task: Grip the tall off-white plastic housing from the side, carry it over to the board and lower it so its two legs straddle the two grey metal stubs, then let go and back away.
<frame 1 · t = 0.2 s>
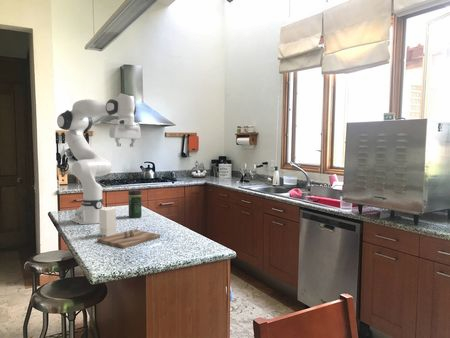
hand: (125, 146, 208), 47 cm above the countertop, tool pointing down, fingers open, 8 cm apart
housing: (107, 234, 198), on the countertop
stub board: (129, 239, 189), on the countertop
coffee jar: (135, 217, 244), on the countertop
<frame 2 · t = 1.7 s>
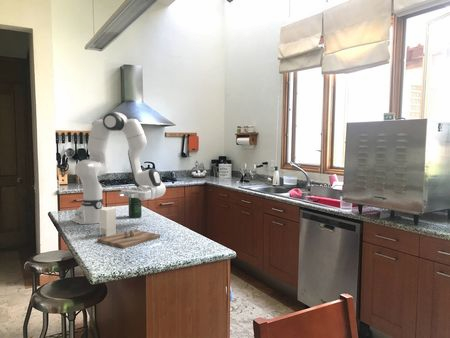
hand: (125, 195, 207), 20 cm above the countertop, tool horizontal, fingers open, 8 cm apart
nothing on the countertop moved.
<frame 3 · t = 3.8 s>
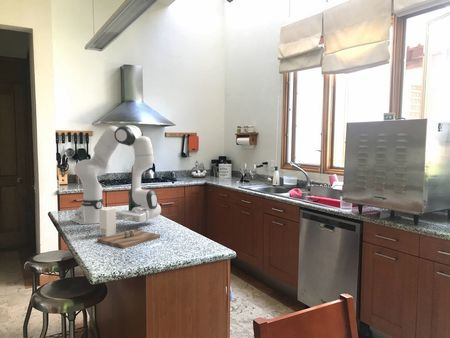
hand: (119, 218, 204), 7 cm above the countertop, tool horizontal, fingers open, 8 cm apart
nothing on the countertop moved.
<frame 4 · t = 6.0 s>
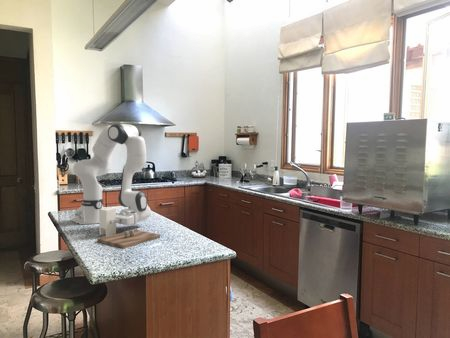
hand: (106, 221, 197), 8 cm above the countertop, tool horizontal, fingers closed on housing, 6 cm apart
housing: (107, 234, 198), on the countertop, touching gripper
everything else where it was.
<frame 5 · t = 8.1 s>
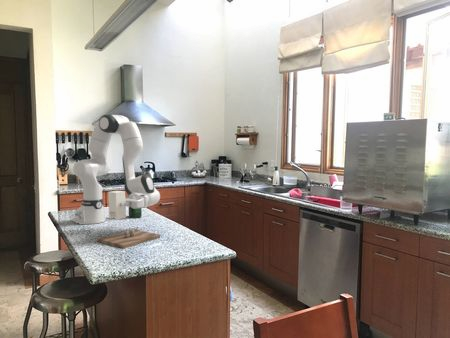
hand: (115, 204, 192), 17 cm above the countertop, tool horizontal, fingers closed on housing, 6 cm apart
housing: (117, 218, 193), point 10 cm above the countertop, touching gripper
everything else where it was.
when the fingers open (10 cm above the countertop, at t = 10.8 s): housing drops 1 cm, resting on stub board.
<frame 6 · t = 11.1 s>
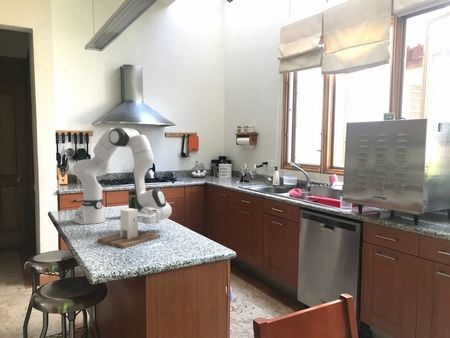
hand: (127, 219, 187), 10 cm above the countertop, tool horizontal, fingers open, 8 cm apart
housing: (129, 236, 189), point 2 cm above the countertop, touching stub board
everything else where it was.
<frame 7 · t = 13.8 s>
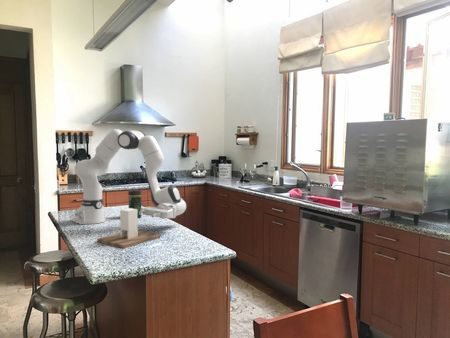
hand: (146, 214, 198), 11 cm above the countertop, tool horizontal, fingers open, 8 cm apart
nothing on the countertop moved.
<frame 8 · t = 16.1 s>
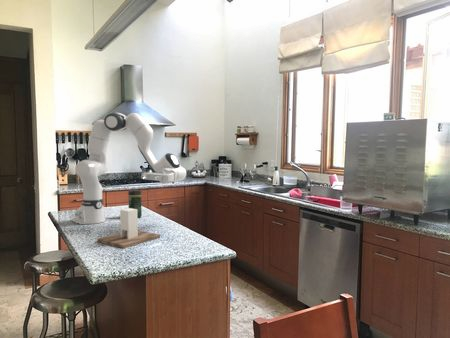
hand: (147, 177, 204), 30 cm above the countertop, tool horizontal, fingers open, 8 cm apart
nothing on the countertop moved.
at the end: housing 0.1 cm off-centre on the stub board, point 1.5 cm above the stub board's base; housing tilted 0°; the gripper is holding nothing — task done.
